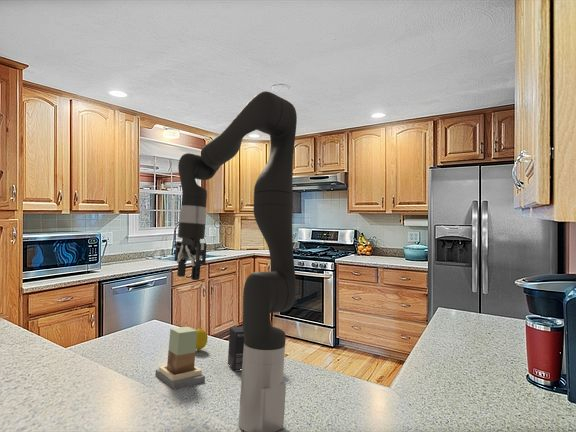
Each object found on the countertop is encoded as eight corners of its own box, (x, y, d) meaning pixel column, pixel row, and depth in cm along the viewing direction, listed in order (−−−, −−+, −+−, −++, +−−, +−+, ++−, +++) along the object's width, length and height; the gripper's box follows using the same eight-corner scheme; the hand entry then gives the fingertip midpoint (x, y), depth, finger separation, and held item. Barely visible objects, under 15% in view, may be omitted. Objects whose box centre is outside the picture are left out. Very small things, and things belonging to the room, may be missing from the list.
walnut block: (193, 373, 100) (195, 352, 100) (175, 377, 96) (177, 355, 96) (184, 367, 104) (186, 347, 104) (166, 371, 100) (168, 350, 100)
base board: (204, 381, 98) (205, 371, 99) (174, 389, 92) (175, 378, 92) (184, 368, 107) (185, 359, 107) (155, 374, 101) (156, 365, 101)
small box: (264, 360, 119) (267, 324, 120) (272, 368, 112) (275, 329, 113) (226, 364, 113) (229, 326, 114) (232, 372, 107) (235, 331, 108)
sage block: (195, 352, 100) (197, 330, 100) (177, 355, 96) (179, 333, 97) (186, 347, 104) (188, 326, 104) (168, 350, 100) (170, 328, 101)
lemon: (202, 354, 121) (204, 330, 122) (187, 352, 123) (189, 328, 123) (209, 349, 127) (210, 327, 127) (194, 347, 128) (196, 325, 129)
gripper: (216, 223, 100) (212, 280, 99) (192, 223, 111) (188, 275, 110) (192, 221, 95) (187, 281, 94) (169, 221, 106) (164, 275, 104)
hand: (187, 278), depth 102 cm, fingers open, 8 cm apart
